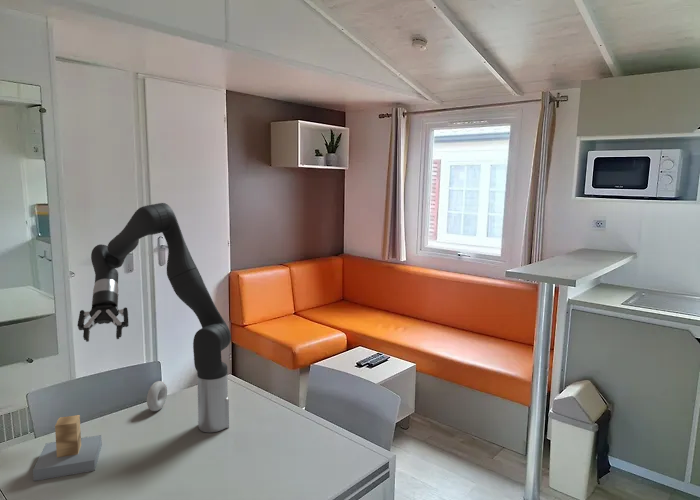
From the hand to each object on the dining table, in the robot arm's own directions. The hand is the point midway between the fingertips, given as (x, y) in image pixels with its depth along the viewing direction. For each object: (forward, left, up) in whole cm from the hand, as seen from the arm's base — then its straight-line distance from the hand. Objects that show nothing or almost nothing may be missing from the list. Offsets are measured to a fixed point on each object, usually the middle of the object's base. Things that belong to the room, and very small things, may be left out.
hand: (102, 339), depth 147 cm
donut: (-15, -7, -29) cm, 33 cm away
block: (+7, +19, -26) cm, 32 cm away
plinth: (+7, +19, -29) cm, 35 cm away
